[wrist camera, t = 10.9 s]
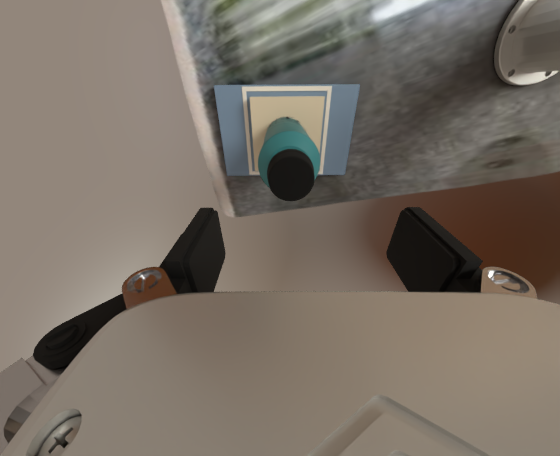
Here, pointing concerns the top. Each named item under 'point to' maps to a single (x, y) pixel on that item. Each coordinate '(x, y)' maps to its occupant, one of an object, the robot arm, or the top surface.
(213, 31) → the top surface
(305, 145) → the beverage bottle
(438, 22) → the top surface
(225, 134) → the board
